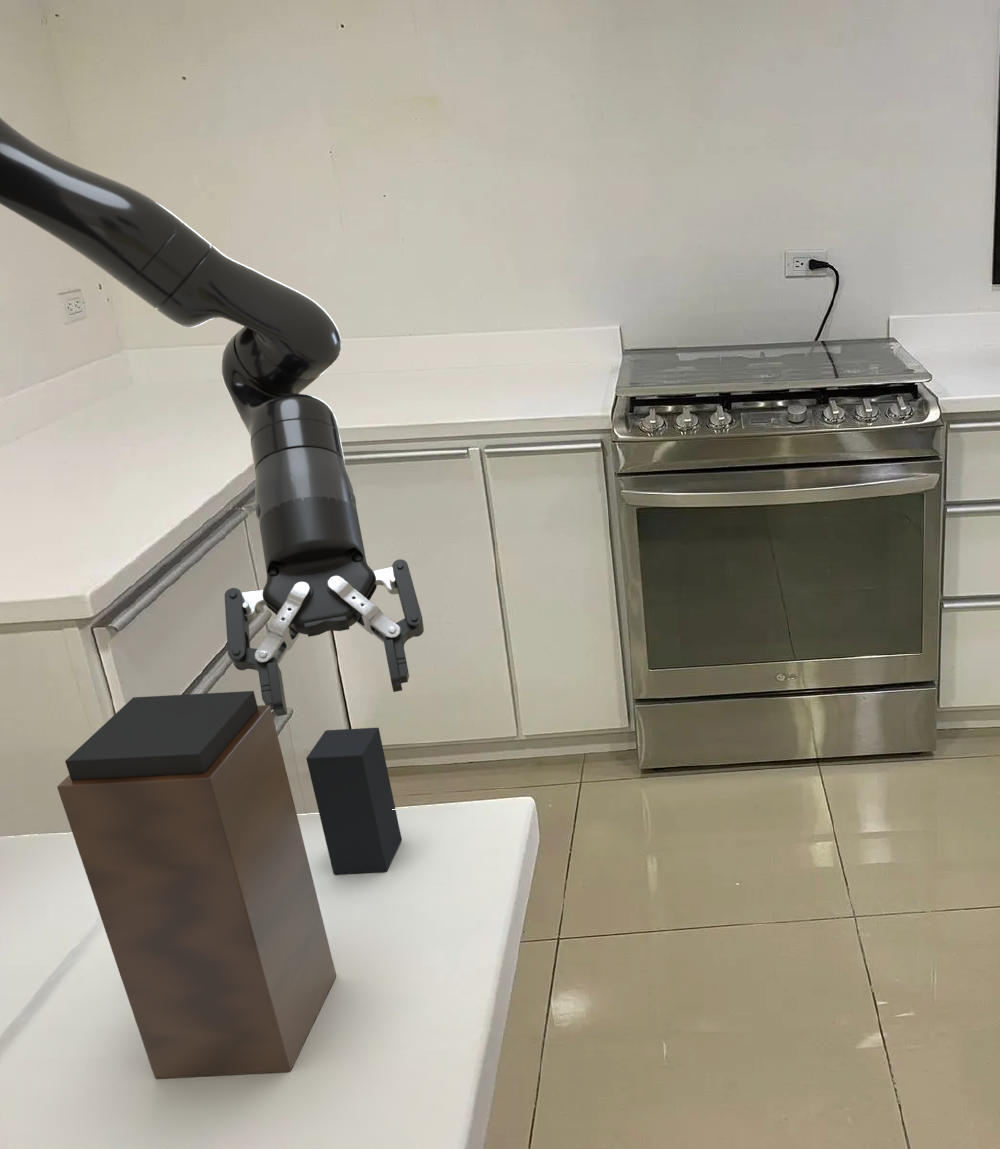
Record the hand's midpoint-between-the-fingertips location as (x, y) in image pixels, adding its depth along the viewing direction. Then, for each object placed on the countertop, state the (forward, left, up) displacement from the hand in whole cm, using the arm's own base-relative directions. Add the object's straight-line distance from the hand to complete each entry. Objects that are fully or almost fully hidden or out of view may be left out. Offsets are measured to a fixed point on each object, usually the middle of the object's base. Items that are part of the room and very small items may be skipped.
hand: (339, 700), depth 86 cm
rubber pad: (0, -22, +9) cm, 24 cm away
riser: (0, -22, -11) cm, 25 cm away
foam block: (+2, -5, -11) cm, 12 cm away
